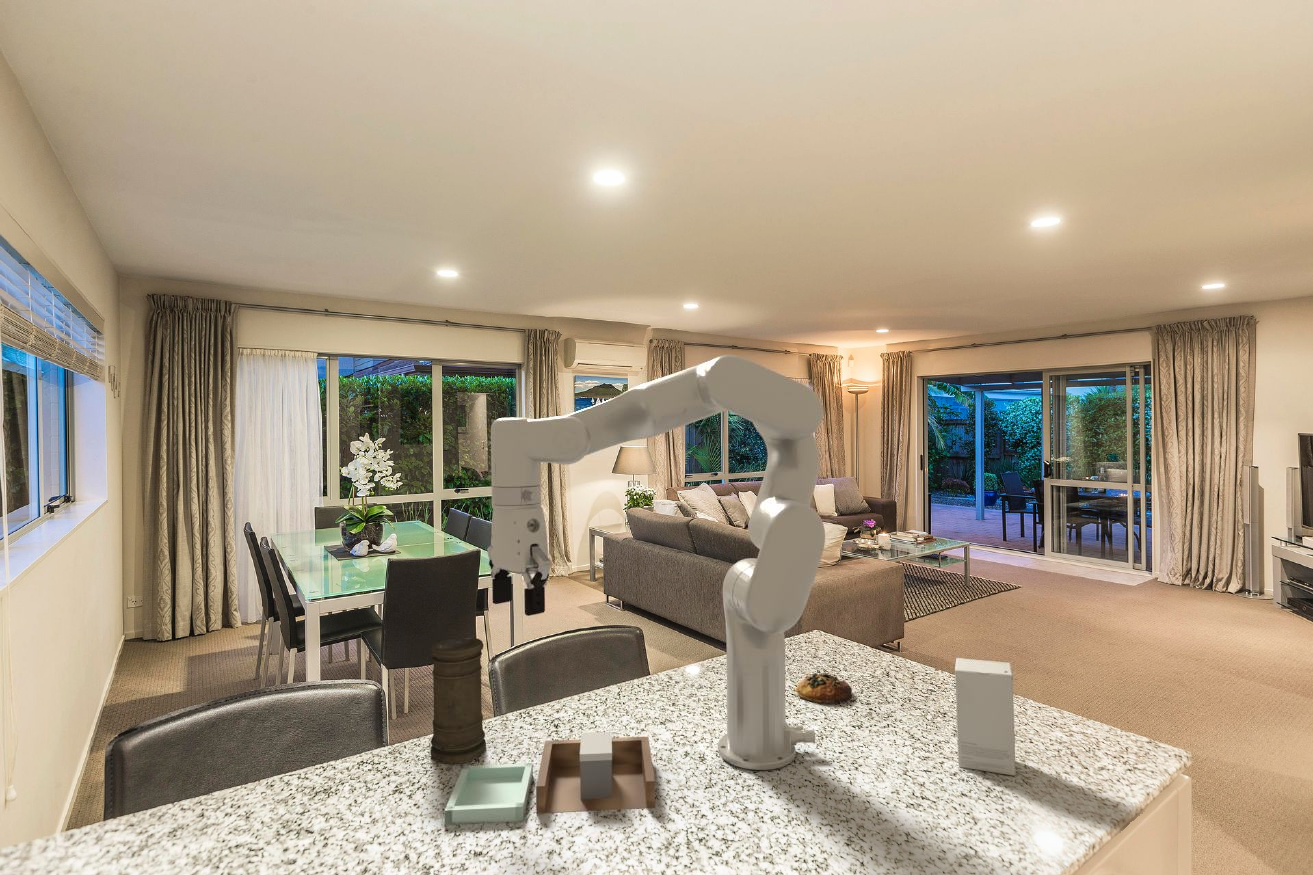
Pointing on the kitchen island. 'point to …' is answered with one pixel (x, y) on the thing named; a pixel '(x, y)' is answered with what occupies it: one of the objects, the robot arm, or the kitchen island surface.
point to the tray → (490, 794)
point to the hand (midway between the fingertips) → (518, 607)
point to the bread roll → (824, 689)
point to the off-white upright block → (596, 765)
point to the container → (457, 700)
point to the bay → (563, 777)
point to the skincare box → (985, 716)
